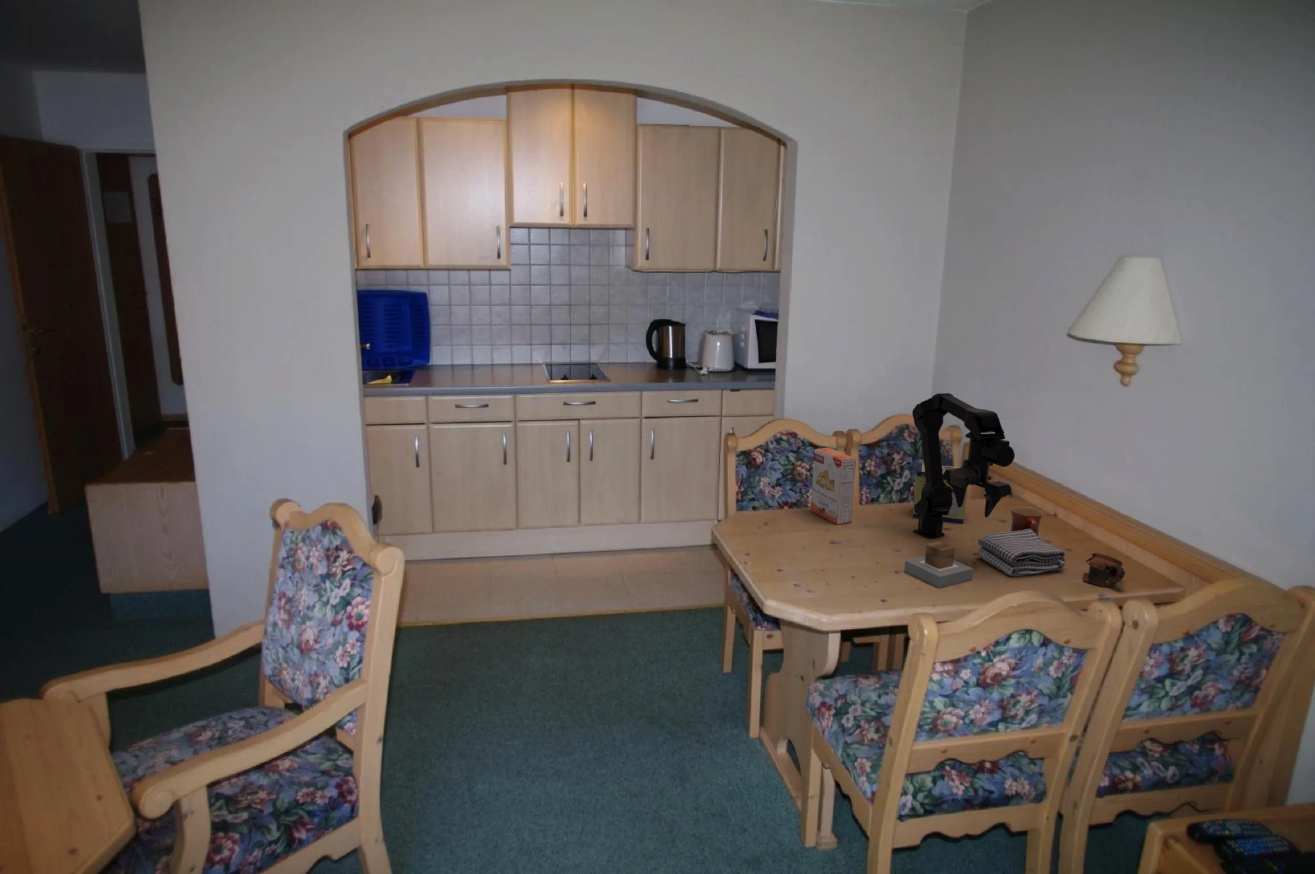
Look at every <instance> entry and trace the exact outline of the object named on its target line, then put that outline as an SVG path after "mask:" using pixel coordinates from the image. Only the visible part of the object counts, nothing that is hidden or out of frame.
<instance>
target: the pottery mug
mask: <svg viewBox="0 0 1315 874" xmlns="http://www.w3.org/2000/svg"><path fill="white" fill-rule="evenodd" d="M1085 563H1088V564H1087V565H1089V569H1088V572H1083V576H1082V581H1084V582H1088V583H1090V584H1091V583H1092V584H1093V585H1096V586H1098V587H1102V588H1104V587H1105V585H1106V583H1107V582H1108V585H1110V586H1115V585H1116V584H1117V583H1120V582H1121V581H1122V580H1123V579H1124V577H1125V574H1126V571H1125V569H1124V568H1123V564H1124V563H1123V562H1122V561H1121V560H1119V559H1117V558H1115V557H1112V556H1110V555H1105V554H1101V553H1097V552H1095V553H1092V554H1091V557H1089V558H1088V559H1087V560H1085Z"/></svg>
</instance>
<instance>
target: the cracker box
mask: <svg viewBox="0 0 1315 874" xmlns="http://www.w3.org/2000/svg"><path fill="white" fill-rule="evenodd" d="M813 458H814V459H813V471H812V473H813V474H812V487H811V502H810V512H812V513H814V514H816V515H818V516H820V517H822V518H823V519H824V520H828V521H829V522H830V523H833V524H835V525H844V524H849V523H852V518H853V516H852V515H853V506H854V505H853V503H854V502H853V501H854V491H855V479H856V465H857V458H856V457H853V456H851V455H848V454H846V453H844V452H841V451H838V450H835V449H834V448H831V447H820V448H815V449H814V454H813Z"/></svg>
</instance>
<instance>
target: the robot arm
mask: <svg viewBox="0 0 1315 874" xmlns="http://www.w3.org/2000/svg"><path fill="white" fill-rule="evenodd" d="M947 414H950V415H952V416H954V417H956V418H957V419H959V420H961V421H962V422H963V425H964V427H965V428H966V429H967V430H968V431H969V432H967V433H966V434H965V438H967V439H968V440H969V445H968V453H967V459H964V461H963V462H962V463H963V464H962V466H959V467H960V468H953V469H947V470H946V471H945V472H944V473H943V471H942V466H943V463H942V462H943V461H942V452H941V443H940V430H941V429H942V427H943V424H944V417H945V416H946V415H947ZM912 417H913V424H914V426H915V428H916V429H917V430H918V432H919V433H920V435H921V446H922V457H923V464H924V468H925V479H926V483H925V485H924V487H923V489H922V491H921V500H920V501H918V502H917V503H916V504H915V505H914V504H913V505H914V511H915V513H916V514H918V515H919V519H918V523H917V529H914V530H913V532H914V533H916V534H919V535H921V536H923V537H926V538H928V539H933V538H936V537H937V538H938V537H942V536H945V534H946V533H944V532H943V526H944V522H943V521H942V520H943V516H942V515H948V514H949V511H950V509H951V507H952V500H953V498H952V489H951V487H952V488H953V491H954V494H955V498H956V502H957V506H958V507H962V504H963V501H964V497H965V493H966V489H967V490H968V486H976V487H979V488H982V489H984V492H985V494H983V497H984V498H985V504H984V505H985V506H984V518H989V517H990V515H991V513H993V510H994V509H995V508H996V506H997V504H998V503H999V502H1000V501H1001V500H1002V498H1005V497H1007V496H1011V494H1012V486H1011V485H1010V483H1007V482H1003V481H1000V480H998V481H992V475H989V472H990V467H991V466H994V465H996V466H999V467H1001V468H1005V467H1009V466H1010V465H1011V464H1012V463H1013V461H1014V460H1015V457H1016V456H1015V455H1016V454H1015V451H1014V448H1013V447H1012V446H1011V445H1010V441H1009V440H1007V439H1006V435H1005V431H1004V429H1003V427H1002V424H1001V421H1000V417H999V415H998V413H996V412H995V411H993V410H989V409H983V408H976V407H974V406H972V405H971V404H969V403H967V402H965V401H963V400H961V399H959V398H957V397H956V396H954V395H953V394H952V393H950V392H946V393H945V392H944V393H943V392H941V393H940V392H939V393H935V394H934V395H932V397H930V398H928V399H926V400H923V401H921V402H919V403H917V404H915V406H914V408H913V409H912ZM944 480H946V483H947V484H949V485H950V486H951V487H950V486H949V487H947V485H946V484H945V482H944ZM989 481H990V482H989ZM991 481H992V482H991Z"/></svg>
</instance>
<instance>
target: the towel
mask: <svg viewBox="0 0 1315 874" xmlns="http://www.w3.org/2000/svg"><path fill="white" fill-rule="evenodd" d="M977 543H978V545H979V546H980V547H978V548H977V551H976V554H977V555H978V557H980V558H981V559H982V560H983V561H986V562H987V563H989V564H990V565H992V566H993V567H995V568H997V569H998V570H1000V571H1002V572H1004V574H1007V575H1009V576H1010V577H1022V576H1023V577H1024V576H1029V575H1030V576H1031V575H1035V574H1036V575H1037V574H1043V573H1047V572H1056V571H1062V570H1063V568H1064V566H1065V562H1066V560H1065V556H1066V552H1065V551H1064V550H1061V549H1060V548H1058V547H1056V546H1054V545H1052V544H1050V543H1049V542H1046V541H1043V540H1042V539H1041V538H1040V537H1039V534H1038V535H1037V534H1036V533H1035V532H1033V530H1032V529H1025V530H1021V531H1020V530H1019V531H1012V532H1010V531H1001V532H993V533H987V534H984V535H983V536H982V537H980V538H979V539H978V540H977Z"/></svg>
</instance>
